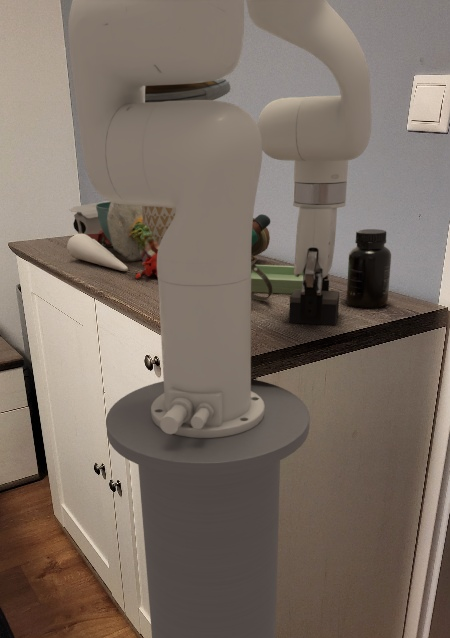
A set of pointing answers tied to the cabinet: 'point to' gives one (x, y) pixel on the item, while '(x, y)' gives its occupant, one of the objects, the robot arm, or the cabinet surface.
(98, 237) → the dental model
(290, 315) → the back pad
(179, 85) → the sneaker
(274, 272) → the rectangular tray
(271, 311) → the cabinet surface
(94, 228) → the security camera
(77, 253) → the long cone
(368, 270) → the supplement bottle
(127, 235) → the fossil
